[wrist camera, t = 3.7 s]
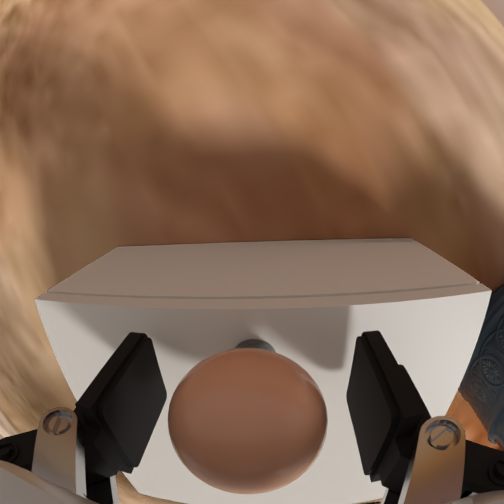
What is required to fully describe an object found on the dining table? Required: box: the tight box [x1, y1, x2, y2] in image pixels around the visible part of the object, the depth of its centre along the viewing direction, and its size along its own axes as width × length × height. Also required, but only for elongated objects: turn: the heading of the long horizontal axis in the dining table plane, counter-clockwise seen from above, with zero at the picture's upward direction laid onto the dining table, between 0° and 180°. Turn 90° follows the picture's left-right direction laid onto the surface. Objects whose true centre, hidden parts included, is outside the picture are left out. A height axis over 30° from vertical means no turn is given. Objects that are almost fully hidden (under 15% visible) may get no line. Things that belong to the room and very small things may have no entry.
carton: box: [47, 238, 479, 299], centre depth 17 cm, size 18×20×8 cm
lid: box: [35, 283, 492, 504], centre depth 10 cm, size 18×20×6 cm
